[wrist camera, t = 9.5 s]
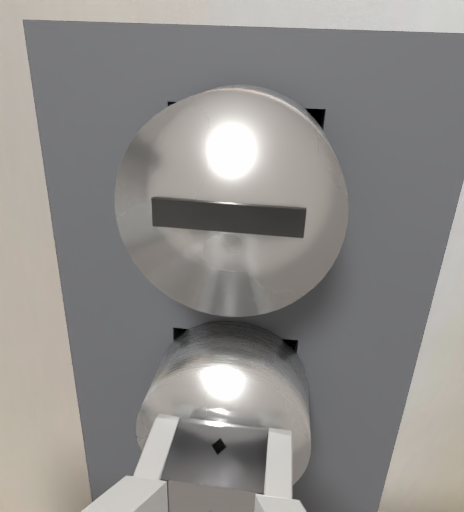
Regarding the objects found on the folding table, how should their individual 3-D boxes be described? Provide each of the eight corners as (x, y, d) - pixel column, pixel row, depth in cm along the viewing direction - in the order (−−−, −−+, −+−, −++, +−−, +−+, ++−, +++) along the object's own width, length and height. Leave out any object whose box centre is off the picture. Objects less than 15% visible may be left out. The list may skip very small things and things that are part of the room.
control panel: (340, 470, 19) (355, 596, 15) (143, 444, 20) (99, 555, 16) (424, 44, 12) (501, 34, 8) (115, 33, 13) (22, 19, 9)
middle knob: (298, 377, 15) (301, 518, 10) (185, 364, 15) (139, 495, 11) (311, 274, 13) (321, 387, 9) (183, 262, 14) (129, 365, 9)
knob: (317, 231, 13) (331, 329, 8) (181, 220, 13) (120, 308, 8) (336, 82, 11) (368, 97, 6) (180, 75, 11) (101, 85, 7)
